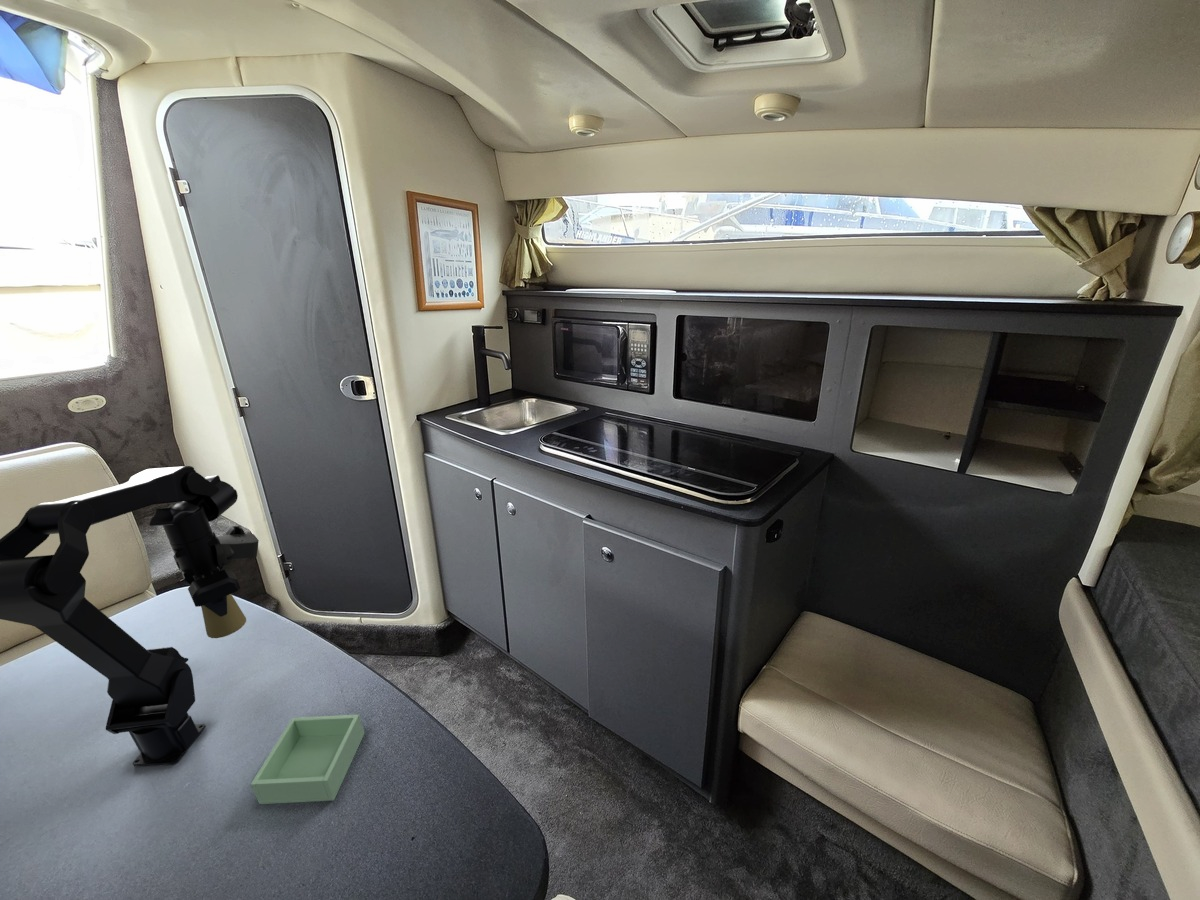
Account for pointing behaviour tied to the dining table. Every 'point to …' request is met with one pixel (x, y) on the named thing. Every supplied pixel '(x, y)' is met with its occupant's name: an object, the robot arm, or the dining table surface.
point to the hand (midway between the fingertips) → (220, 609)
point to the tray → (309, 760)
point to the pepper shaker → (223, 619)
